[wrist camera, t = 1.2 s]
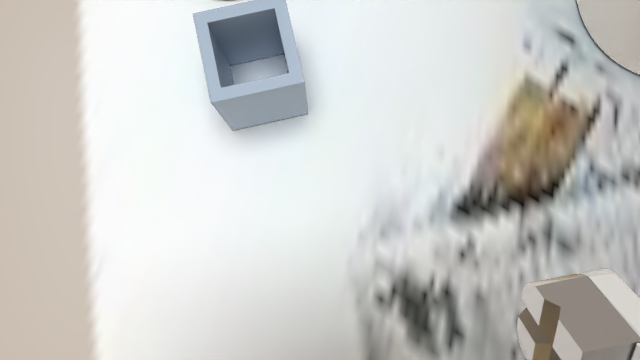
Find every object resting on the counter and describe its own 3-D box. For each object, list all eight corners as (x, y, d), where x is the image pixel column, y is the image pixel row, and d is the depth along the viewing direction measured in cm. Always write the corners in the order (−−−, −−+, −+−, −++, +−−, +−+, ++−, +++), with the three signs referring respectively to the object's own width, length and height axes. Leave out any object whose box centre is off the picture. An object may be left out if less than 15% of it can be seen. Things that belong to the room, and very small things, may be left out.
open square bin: (308, 113, 40) (304, 82, 32) (233, 130, 40) (210, 102, 32) (283, 7, 41) (274, -49, 34) (210, 23, 41) (183, -30, 33)
